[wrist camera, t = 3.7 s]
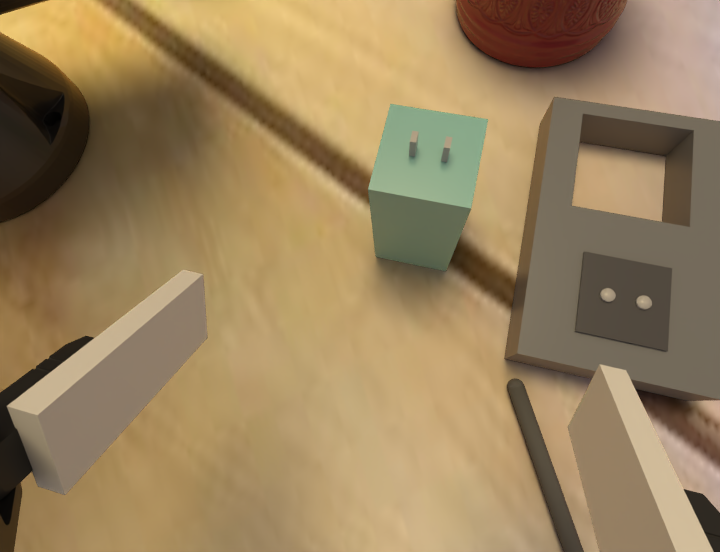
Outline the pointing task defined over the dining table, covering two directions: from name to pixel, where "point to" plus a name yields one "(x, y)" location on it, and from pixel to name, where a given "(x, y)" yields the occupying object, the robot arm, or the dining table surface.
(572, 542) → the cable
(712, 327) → the grey flat block
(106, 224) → the dining table surface
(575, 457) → the robot arm
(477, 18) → the canister
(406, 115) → the charger block
